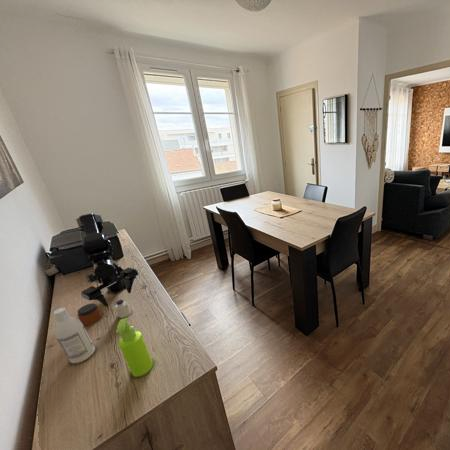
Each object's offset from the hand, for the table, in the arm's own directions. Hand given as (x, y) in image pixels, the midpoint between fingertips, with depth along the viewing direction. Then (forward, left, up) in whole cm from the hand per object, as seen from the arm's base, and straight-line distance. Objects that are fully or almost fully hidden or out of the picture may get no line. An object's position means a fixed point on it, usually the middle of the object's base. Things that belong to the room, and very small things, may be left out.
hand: (118, 299), depth 101 cm
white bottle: (0, 0, -8) cm, 8 cm away
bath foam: (+19, +7, -8) cm, 22 cm away
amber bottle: (+7, -11, -8) cm, 15 cm away
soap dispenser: (+15, +33, -8) cm, 37 cm away
